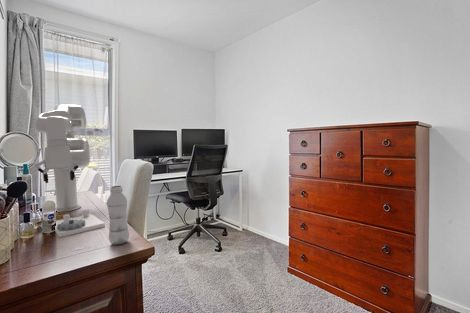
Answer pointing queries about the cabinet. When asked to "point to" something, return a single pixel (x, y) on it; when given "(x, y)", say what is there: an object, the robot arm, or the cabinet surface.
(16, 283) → the cabinet surface
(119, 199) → the plastic bottle
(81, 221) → the gear board
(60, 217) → the ochre gear
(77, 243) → the cabinet surface
